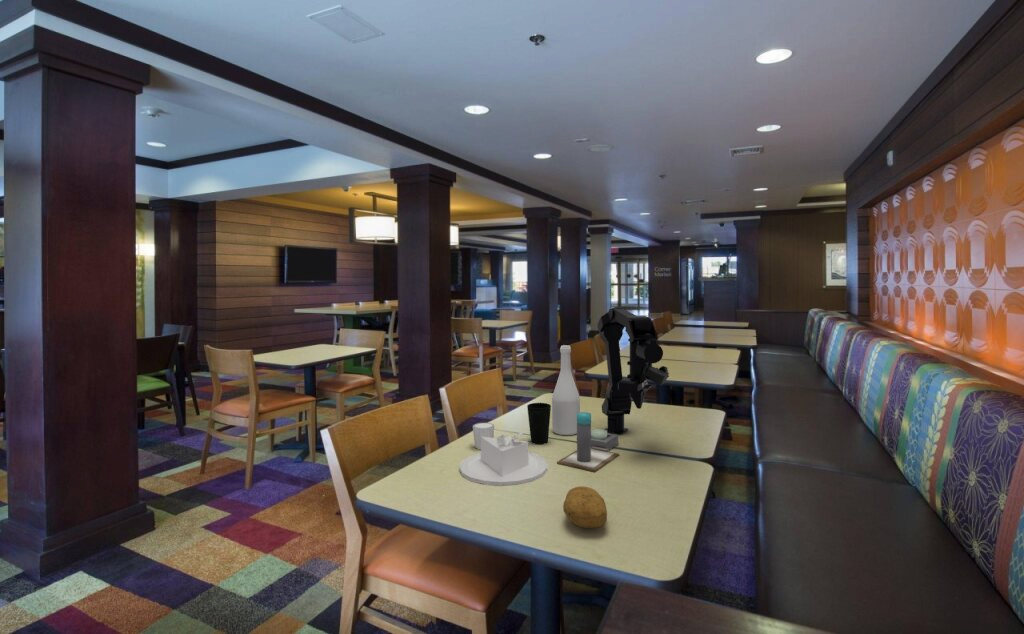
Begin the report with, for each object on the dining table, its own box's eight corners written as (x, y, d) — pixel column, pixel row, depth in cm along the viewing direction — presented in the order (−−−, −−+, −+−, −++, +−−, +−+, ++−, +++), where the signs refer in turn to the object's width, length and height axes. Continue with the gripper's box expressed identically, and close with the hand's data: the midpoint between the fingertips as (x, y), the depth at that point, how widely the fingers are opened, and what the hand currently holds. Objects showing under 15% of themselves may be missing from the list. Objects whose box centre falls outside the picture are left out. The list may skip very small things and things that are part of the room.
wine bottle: (581, 435, 174) (581, 347, 171) (553, 436, 174) (552, 348, 171) (578, 427, 183) (577, 343, 181) (551, 427, 183) (550, 344, 181)
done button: (595, 438, 167) (595, 428, 166) (609, 441, 164) (609, 430, 164) (588, 442, 163) (588, 431, 162) (602, 445, 160) (602, 434, 160)
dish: (565, 467, 147) (565, 428, 146) (505, 495, 128) (504, 450, 127) (502, 448, 163) (501, 413, 162) (441, 470, 145) (440, 431, 144)
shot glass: (478, 451, 159) (477, 429, 159) (469, 445, 165) (469, 424, 165) (498, 448, 162) (498, 426, 162) (489, 442, 168) (488, 421, 168)
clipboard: (583, 448, 161) (583, 444, 161) (619, 455, 154) (619, 451, 154) (557, 463, 148) (557, 459, 148) (594, 472, 141) (594, 467, 141)
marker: (585, 456, 151) (585, 411, 150) (593, 460, 148) (594, 414, 147) (573, 458, 149) (573, 413, 148) (582, 463, 146) (582, 416, 145)
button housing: (592, 439, 170) (592, 430, 169) (618, 444, 164) (618, 435, 164) (579, 446, 162) (579, 437, 162) (606, 452, 157) (606, 442, 157)
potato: (563, 536, 107) (563, 503, 106) (563, 508, 120) (562, 479, 119) (608, 537, 106) (608, 505, 106) (603, 509, 119) (603, 480, 118)
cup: (551, 438, 172) (551, 402, 171) (551, 445, 164) (550, 408, 163) (528, 437, 172) (528, 402, 171) (526, 445, 165) (526, 408, 164)
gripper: (654, 364, 144) (653, 419, 146) (675, 356, 159) (675, 405, 161) (617, 361, 151) (616, 413, 152) (641, 353, 166) (640, 400, 167)
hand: (639, 408), depth 158 cm, fingers closed
